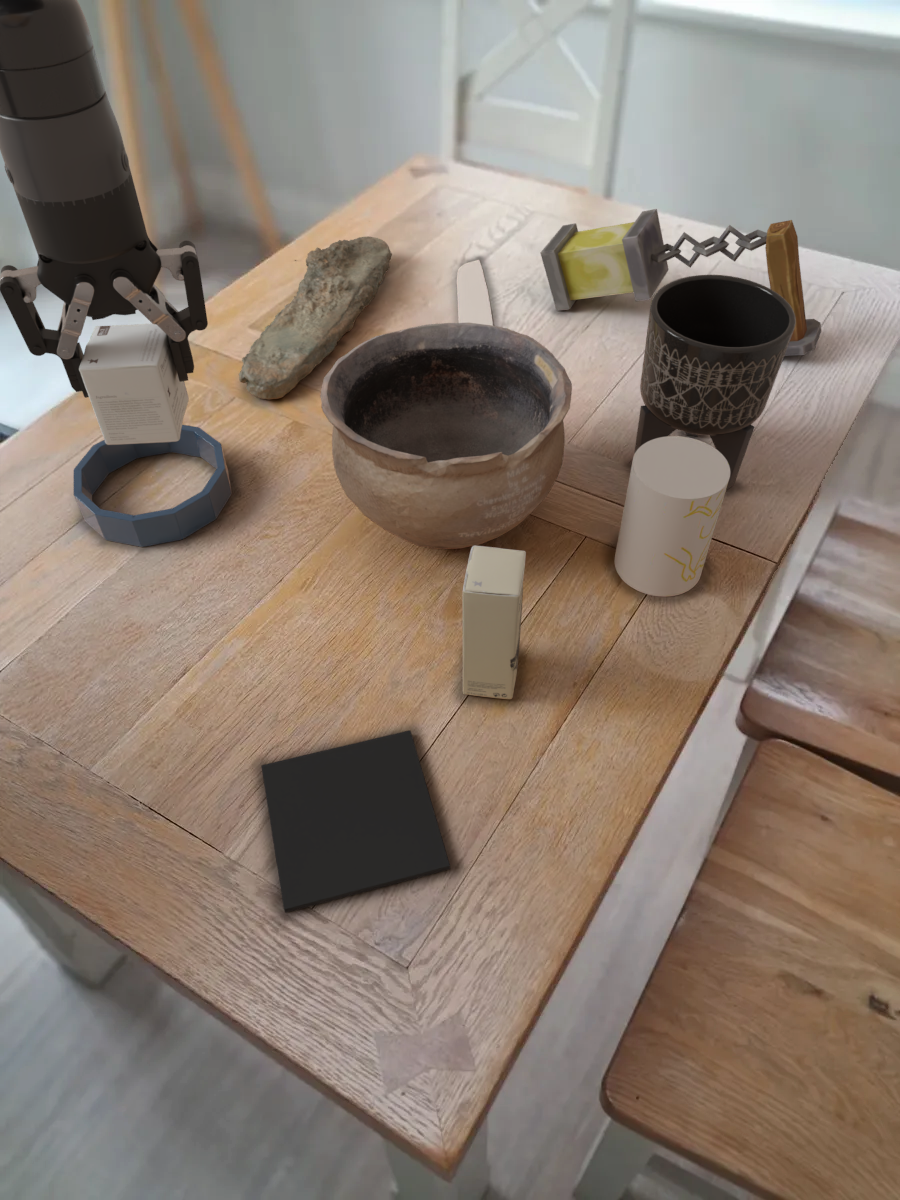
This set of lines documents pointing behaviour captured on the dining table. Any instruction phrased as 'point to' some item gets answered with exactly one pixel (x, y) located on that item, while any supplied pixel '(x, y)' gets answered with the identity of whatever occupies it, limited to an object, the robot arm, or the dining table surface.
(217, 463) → the faceted polygonal ring
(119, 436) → the product carton
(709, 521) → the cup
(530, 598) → the dining table surface
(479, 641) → the box
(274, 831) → the coaster
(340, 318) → the long grey stone
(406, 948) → the dining table surface
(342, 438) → the ceramic bowl
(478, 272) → the knife
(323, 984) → the dining table surface
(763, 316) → the planter
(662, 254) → the lantern
